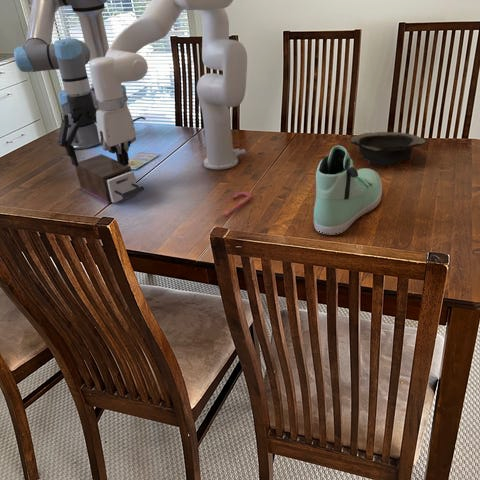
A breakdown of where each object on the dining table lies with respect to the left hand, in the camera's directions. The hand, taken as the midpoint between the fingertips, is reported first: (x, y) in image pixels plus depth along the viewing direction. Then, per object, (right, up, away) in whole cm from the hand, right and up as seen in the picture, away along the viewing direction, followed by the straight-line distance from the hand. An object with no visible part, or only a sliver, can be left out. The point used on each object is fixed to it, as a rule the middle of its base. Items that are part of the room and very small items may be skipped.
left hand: (94, 158), depth 158 cm
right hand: (+13, -4, -13) cm, 19 cm away
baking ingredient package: (+9, +3, +24) cm, 26 cm away
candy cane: (+47, -17, -13) cm, 52 cm away
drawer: (+8, -12, -1) cm, 14 cm away
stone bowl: (+99, +2, +10) cm, 99 cm away
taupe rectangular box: (+4, -10, +3) cm, 11 cm away
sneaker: (+80, -18, -19) cm, 84 cm away
